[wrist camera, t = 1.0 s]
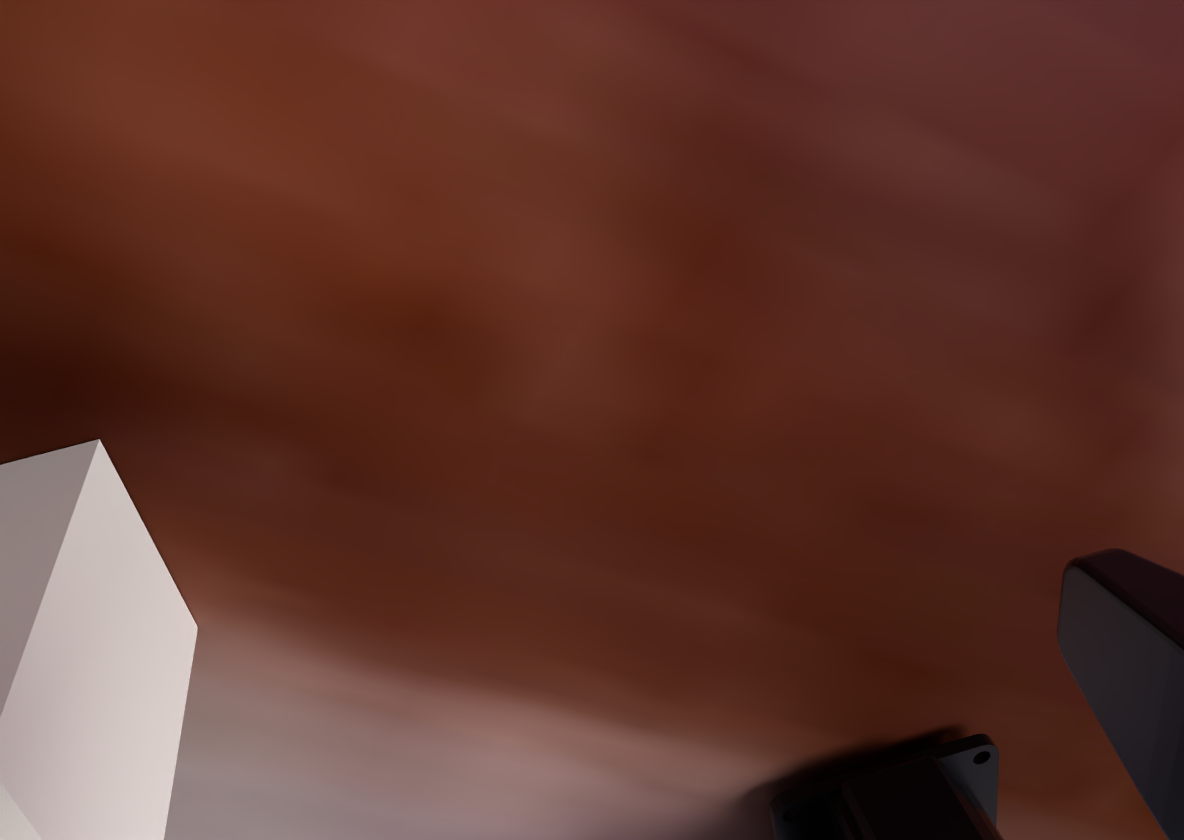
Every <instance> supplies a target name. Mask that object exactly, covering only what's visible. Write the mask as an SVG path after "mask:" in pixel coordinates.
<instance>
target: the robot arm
mask: <svg viewBox="0 0 1184 840" xmlns="http://www.w3.org/2000/svg"><path fill="white" fill-rule="evenodd" d="M1057 639H1058V645H1059V648H1060V652H1061V654H1062V657H1063V659H1064V661H1065V663H1066V665H1067V667H1068V669H1069V670H1070V672H1071V674H1072V676H1073V677H1074V679H1075V681H1076V683H1077V684H1078V686H1079V688H1080V690H1081V691H1082V693H1083V695H1084V697H1085V698H1086V700H1087V702H1088V704H1089V705H1090V707H1091V709H1092V711H1093V712H1094V714H1095V716H1096V718H1097V719H1098V721H1099V723H1100V725H1101V726H1102V728H1103V730H1104V732H1105V733H1106V735H1107V737H1108V738H1109V740H1110V742H1111V744H1112V745H1113V747H1114V749H1115V751H1116V752H1117V754H1118V756H1119V758H1120V759H1121V761H1122V763H1123V765H1124V766H1125V768H1126V770H1127V772H1128V773H1129V775H1130V777H1131V779H1132V780H1133V782H1134V784H1135V786H1136V787H1137V789H1138V791H1139V793H1140V794H1141V796H1142V798H1143V800H1144V801H1145V803H1146V805H1147V806H1148V808H1149V810H1150V811H1151V813H1152V814H1153V816H1154V818H1155V819H1156V821H1157V823H1158V824H1159V826H1160V828H1161V829H1162V831H1163V832H1164V834H1165V835H1166V836H1167V838H1168V839H1169V840H1184V575H1183V574H1180V573H1178V572H1176V571H1173V570H1171V569H1169V568H1166V567H1164V566H1162V565H1159V564H1157V563H1155V562H1152V561H1150V560H1148V559H1145V558H1143V557H1141V556H1138V555H1136V554H1134V553H1131V552H1129V551H1126V550H1123V549H1118V548H1111V549H1106V550H1102V551H1099V552H1095V553H1091V554H1088V555H1084V556H1080V557H1077V558H1074V559H1072V560H1070V561H1069V562H1068V564H1067V565H1066V567H1065V568H1064V572H1063V578H1062V587H1061V597H1060V606H1059V616H1058V625H1057ZM998 761H999V752H998V748H997V747H996V745H995V744H994V742H993V741H992V739H991V738H990V737H989V736H988V735H985V734H976V735H972V736H969V737H966V738H962V739H959V740H956V741H952V742H949V743H946V744H942V745H939V746H936V747H932V748H929V749H926V750H922V751H919V752H916V753H912V754H909V755H906V756H902V757H899V758H896V759H892V760H889V761H886V762H882V763H879V764H876V765H872V766H869V767H866V768H862V769H859V770H856V771H852V772H849V773H846V774H842V775H839V776H836V777H832V778H829V779H826V780H822V781H819V782H816V783H812V784H809V785H806V786H802V787H799V788H796V789H792V790H789V791H786V792H783V793H781V794H779V795H777V796H776V797H775V798H774V799H773V800H772V801H771V803H770V806H769V811H770V818H771V825H772V832H773V839H774V840H1004V839H1003V838H1002V836H1001V835H1000V833H999V831H998V830H997V828H996V816H997V789H998Z"/></svg>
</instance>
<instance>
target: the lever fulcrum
mask: <svg viewBox="0 0 1184 840" xmlns="http://www.w3.org/2000/svg"><path fill="white" fill-rule="evenodd" d="M197 630H198V627H197V625H196V623H195V621H194V619H193V617H192V616H191V614H190V612H189V610H188V608H187V606H186V604H185V602H184V600H183V598H182V596H181V594H180V593H179V591H178V589H177V587H176V585H175V583H174V581H173V579H172V577H171V575H170V573H169V571H168V569H167V568H166V566H165V564H164V562H163V560H162V558H161V556H160V554H159V552H158V550H157V548H156V546H155V545H154V543H153V541H152V539H151V537H150V535H149V533H148V531H147V529H146V527H145V525H144V523H143V522H142V520H141V518H140V516H139V514H138V512H137V510H136V508H135V506H134V504H133V502H132V500H131V498H130V497H129V495H128V493H127V491H126V489H125V487H124V485H123V483H122V481H121V479H120V477H119V475H118V474H117V472H116V470H115V468H114V466H113V464H112V462H111V460H110V458H109V456H108V454H107V452H106V450H105V449H104V447H103V445H102V443H101V441H100V439H98V440H94V441H90V442H86V443H83V444H79V445H75V446H71V447H67V448H63V449H60V450H56V451H52V452H48V453H44V454H40V455H36V456H33V457H29V458H25V459H21V460H17V461H13V462H10V463H6V464H2V465H0V840H164V835H165V829H166V822H167V816H168V810H169V804H170V798H171V791H172V785H173V779H174V773H175V767H176V760H177V754H178V748H179V742H180V736H181V729H182V723H183V717H184V711H185V705H186V698H187V692H188V686H189V680H190V674H191V667H192V661H193V655H194V649H195V643H196V636H197Z"/></svg>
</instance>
